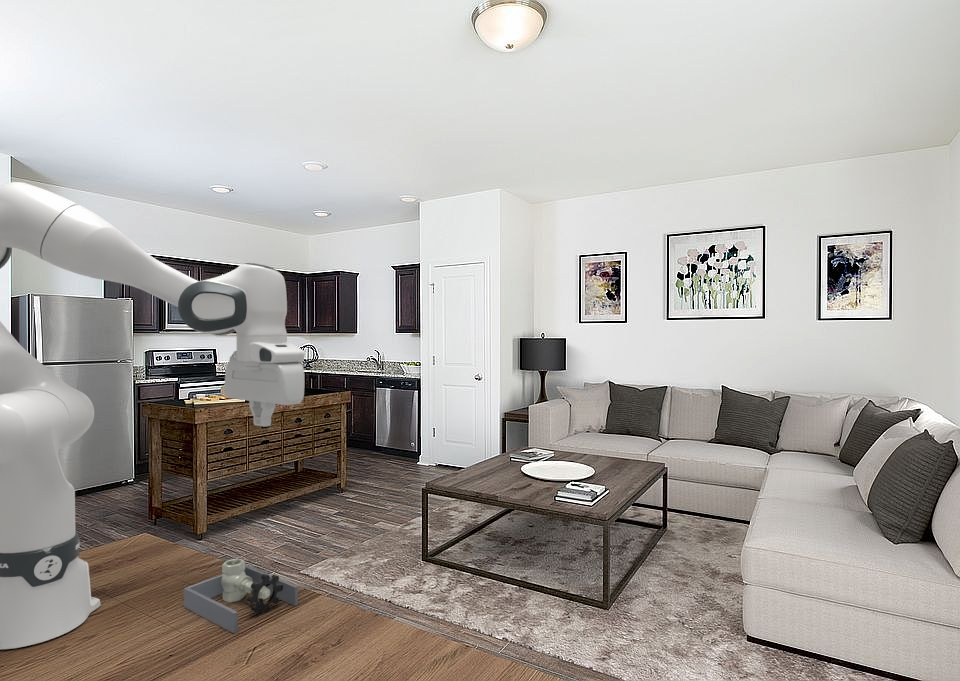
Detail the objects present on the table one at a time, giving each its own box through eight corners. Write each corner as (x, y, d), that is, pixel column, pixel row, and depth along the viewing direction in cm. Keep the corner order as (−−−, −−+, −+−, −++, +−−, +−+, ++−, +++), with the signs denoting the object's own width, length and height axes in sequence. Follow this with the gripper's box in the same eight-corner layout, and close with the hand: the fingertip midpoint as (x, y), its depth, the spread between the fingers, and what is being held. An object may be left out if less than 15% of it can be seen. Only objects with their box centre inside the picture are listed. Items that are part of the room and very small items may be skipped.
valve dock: (183, 607, 102) (183, 588, 102) (246, 582, 112) (246, 565, 112) (234, 633, 93) (234, 613, 93) (297, 604, 103) (297, 586, 103)
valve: (210, 602, 104) (250, 621, 98) (210, 565, 104) (249, 582, 97) (243, 588, 110) (283, 605, 103) (243, 553, 110) (283, 568, 103)
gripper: (215, 350, 112) (215, 422, 112) (280, 353, 100) (280, 433, 100) (245, 349, 117) (245, 418, 117) (310, 352, 105) (310, 428, 105)
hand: (262, 425), depth 109 cm, fingers closed
